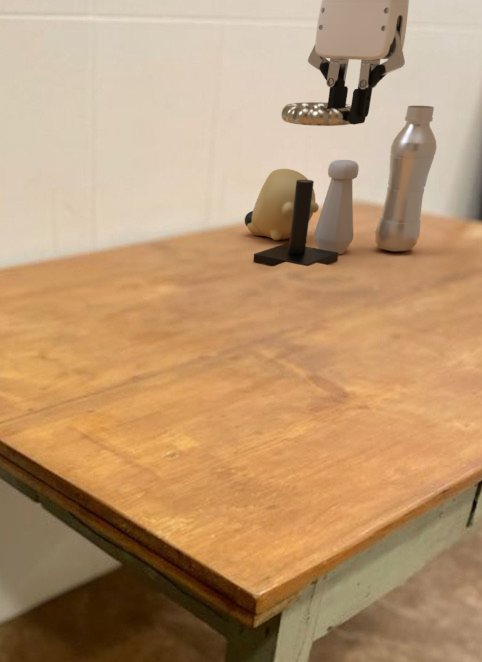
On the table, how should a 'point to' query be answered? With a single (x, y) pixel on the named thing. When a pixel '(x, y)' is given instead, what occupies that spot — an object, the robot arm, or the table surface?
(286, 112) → the beaded metal ring
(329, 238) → the salt shaker
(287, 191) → the toy pig
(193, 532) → the table surface
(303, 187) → the stand
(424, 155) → the silver metal bottle
